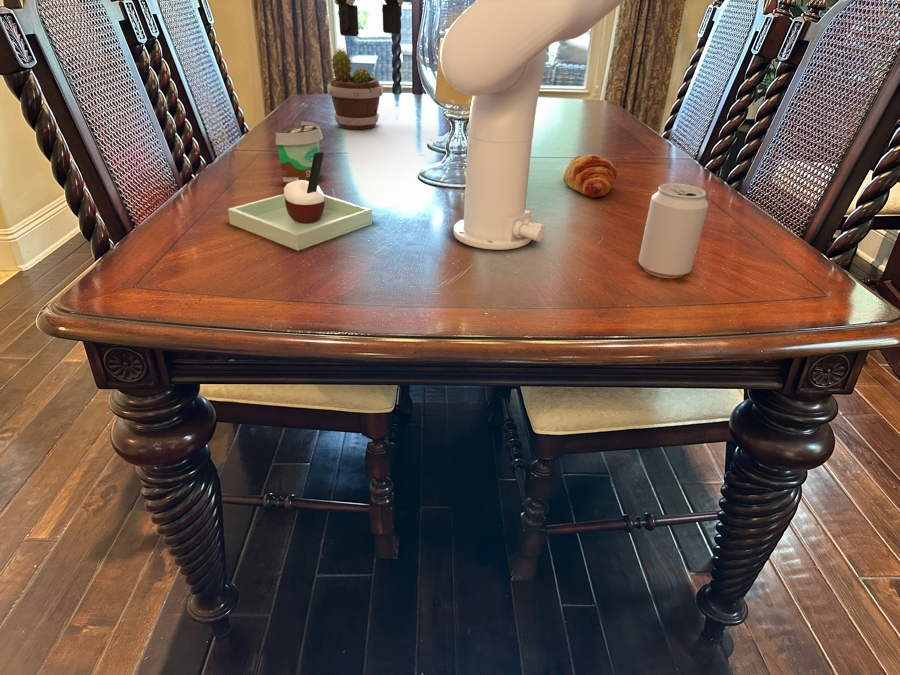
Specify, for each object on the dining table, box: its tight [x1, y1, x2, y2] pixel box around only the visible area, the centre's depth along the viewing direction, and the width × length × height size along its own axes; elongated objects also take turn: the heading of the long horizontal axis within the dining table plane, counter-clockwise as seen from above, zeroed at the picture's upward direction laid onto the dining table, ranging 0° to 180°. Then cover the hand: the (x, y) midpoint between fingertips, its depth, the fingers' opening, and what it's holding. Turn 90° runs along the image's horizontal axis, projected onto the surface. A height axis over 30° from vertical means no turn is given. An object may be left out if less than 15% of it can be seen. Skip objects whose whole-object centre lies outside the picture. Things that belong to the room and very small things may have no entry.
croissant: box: [562, 154, 618, 198], centre depth 122 cm, size 21×10×8 cm, turn 179°
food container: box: [275, 120, 323, 187], centre depth 118 cm, size 12×6×10 cm, turn 168°
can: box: [638, 182, 709, 279], centre depth 85 cm, size 8×8×12 cm
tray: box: [227, 193, 373, 252], centre depth 99 cm, size 17×16×2 cm
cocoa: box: [283, 151, 325, 223], centre depth 96 cm, size 10×6×12 cm, turn 20°
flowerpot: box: [326, 45, 384, 131], centre depth 160 cm, size 14×15×20 cm
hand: (371, 34), depth 94 cm, fingers open, 9 cm apart
